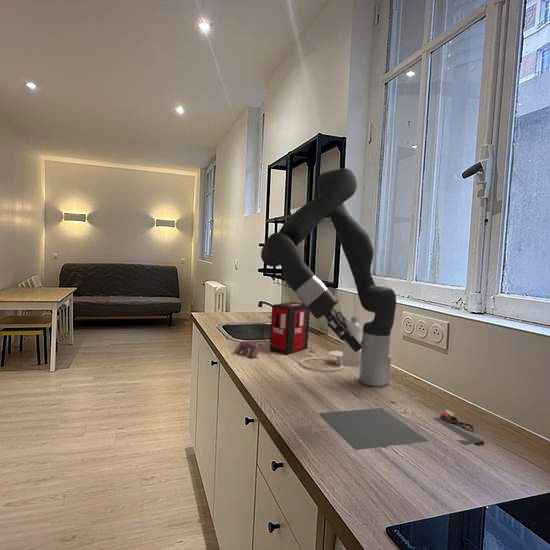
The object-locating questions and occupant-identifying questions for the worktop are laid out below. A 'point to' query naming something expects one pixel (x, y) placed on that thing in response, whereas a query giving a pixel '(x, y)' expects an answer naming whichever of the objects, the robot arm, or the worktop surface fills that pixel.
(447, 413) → the composite cable
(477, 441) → the smartphone
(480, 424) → the worktop surface
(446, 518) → the worktop surface
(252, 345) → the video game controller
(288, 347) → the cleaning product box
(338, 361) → the hand towel holder
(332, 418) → the mat
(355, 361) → the white pump bottle
